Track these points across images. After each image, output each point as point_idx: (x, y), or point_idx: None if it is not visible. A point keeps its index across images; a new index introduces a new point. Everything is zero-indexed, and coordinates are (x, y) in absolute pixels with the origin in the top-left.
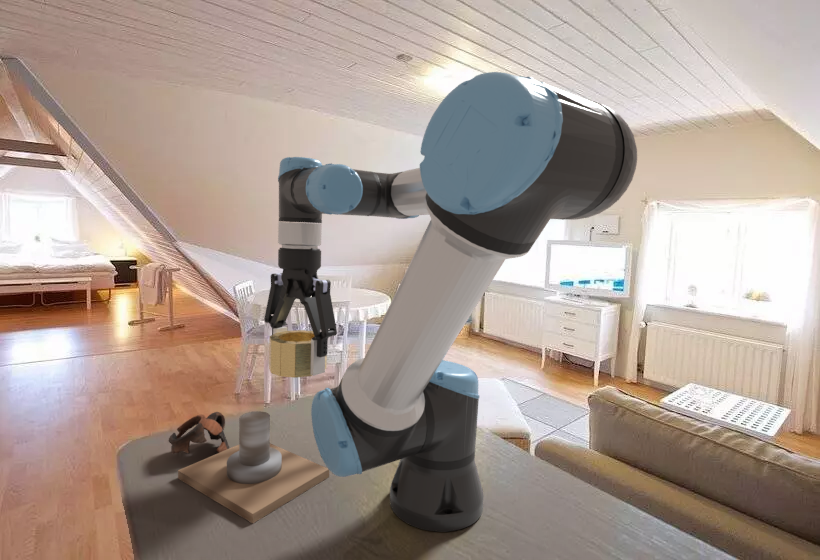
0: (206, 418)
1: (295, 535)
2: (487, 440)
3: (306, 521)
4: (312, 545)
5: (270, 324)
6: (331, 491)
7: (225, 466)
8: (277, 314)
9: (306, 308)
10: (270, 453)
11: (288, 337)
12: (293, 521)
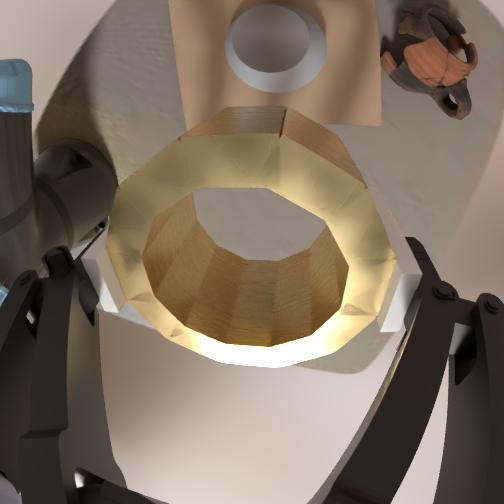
0: (465, 86)
1: (119, 30)
2: (143, 317)
3: (130, 51)
4: (95, 40)
5: (453, 290)
6: (159, 110)
7: (326, 25)
8: (413, 355)
9: (55, 399)
10: (271, 76)
11: (340, 282)
12: (140, 38)
